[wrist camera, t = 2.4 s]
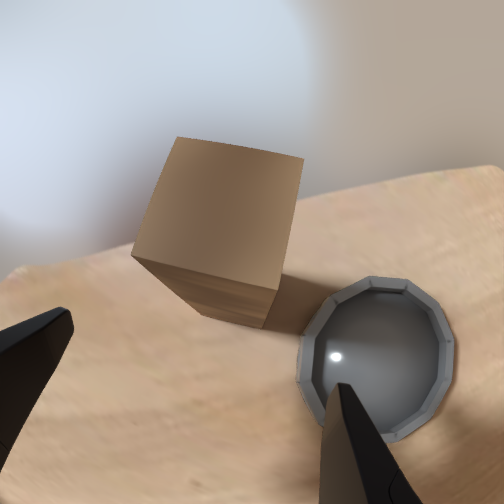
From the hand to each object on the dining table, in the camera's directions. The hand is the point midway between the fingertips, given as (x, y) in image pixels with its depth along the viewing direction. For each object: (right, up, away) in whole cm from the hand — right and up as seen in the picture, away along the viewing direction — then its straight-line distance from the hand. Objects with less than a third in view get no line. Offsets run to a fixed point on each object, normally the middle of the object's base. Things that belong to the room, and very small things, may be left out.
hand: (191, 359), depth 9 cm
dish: (+10, -4, +10) cm, 15 cm away
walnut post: (+1, +1, +12) cm, 12 cm away
